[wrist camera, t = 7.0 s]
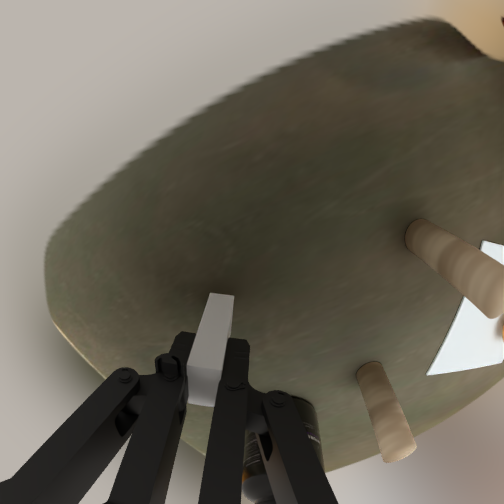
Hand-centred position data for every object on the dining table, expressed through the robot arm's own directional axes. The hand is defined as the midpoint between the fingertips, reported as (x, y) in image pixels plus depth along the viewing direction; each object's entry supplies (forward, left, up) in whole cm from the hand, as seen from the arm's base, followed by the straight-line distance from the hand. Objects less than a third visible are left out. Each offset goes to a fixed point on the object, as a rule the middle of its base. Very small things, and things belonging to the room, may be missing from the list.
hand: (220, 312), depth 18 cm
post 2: (-13, -6, -2) cm, 15 cm away
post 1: (-13, +6, -2) cm, 15 cm away
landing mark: (-27, 0, -2) cm, 27 cm away
